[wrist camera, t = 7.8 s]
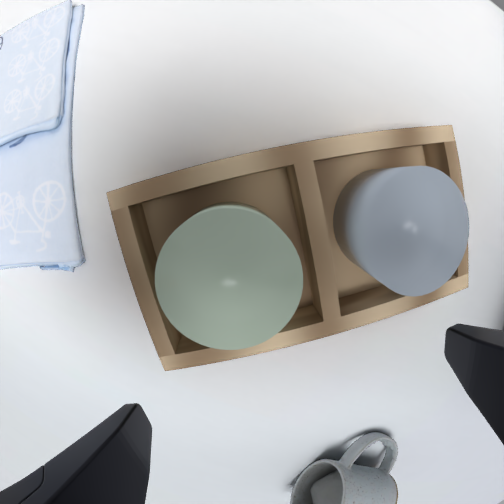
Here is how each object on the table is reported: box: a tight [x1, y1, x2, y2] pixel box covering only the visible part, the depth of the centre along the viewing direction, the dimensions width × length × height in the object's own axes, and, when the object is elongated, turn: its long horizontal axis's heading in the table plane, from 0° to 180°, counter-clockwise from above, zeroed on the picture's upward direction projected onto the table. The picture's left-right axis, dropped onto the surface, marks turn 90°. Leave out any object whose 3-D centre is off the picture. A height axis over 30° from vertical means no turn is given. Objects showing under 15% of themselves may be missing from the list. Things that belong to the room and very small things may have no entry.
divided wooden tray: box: [107, 125, 468, 371], centre depth 17 cm, size 20×10×3 cm, turn 103°
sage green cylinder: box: [155, 201, 303, 350], centre depth 15 cm, size 6×6×5 cm
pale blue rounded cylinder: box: [333, 166, 469, 296], centre depth 16 cm, size 6×6×5 cm
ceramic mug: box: [290, 432, 398, 504], centre depth 20 cm, size 11×8×8 cm
